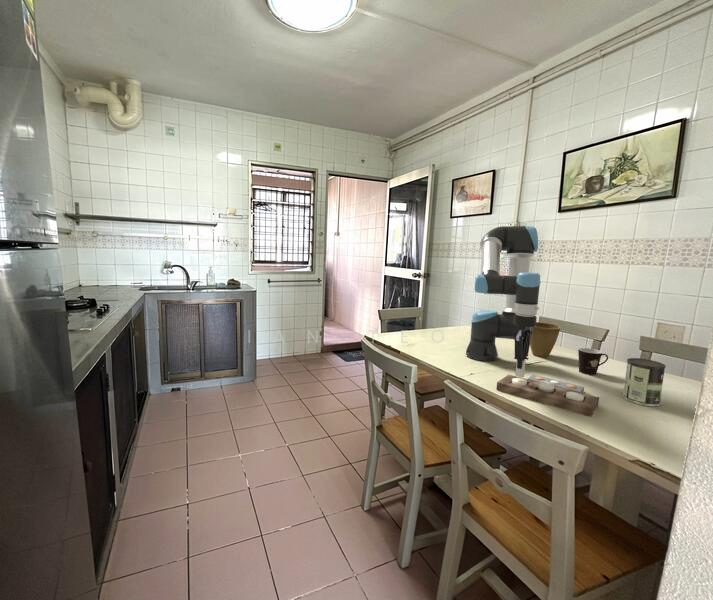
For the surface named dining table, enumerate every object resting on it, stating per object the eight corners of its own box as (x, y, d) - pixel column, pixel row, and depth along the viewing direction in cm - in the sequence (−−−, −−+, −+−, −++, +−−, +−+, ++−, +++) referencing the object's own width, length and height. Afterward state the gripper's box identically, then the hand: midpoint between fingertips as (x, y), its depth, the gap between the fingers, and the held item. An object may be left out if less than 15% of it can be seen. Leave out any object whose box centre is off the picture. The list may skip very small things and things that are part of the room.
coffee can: (656, 398, 121) (661, 361, 120) (663, 409, 113) (669, 369, 111) (620, 392, 127) (625, 356, 125) (624, 401, 118) (629, 363, 116)
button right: (564, 401, 114) (564, 394, 114) (567, 397, 118) (568, 390, 117) (581, 406, 111) (582, 399, 110) (584, 401, 114) (585, 394, 114)
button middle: (535, 389, 120) (536, 383, 120) (540, 386, 124) (540, 379, 123) (551, 393, 117) (552, 387, 116) (555, 389, 120) (555, 383, 120)
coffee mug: (577, 373, 146) (579, 351, 145) (574, 368, 154) (577, 346, 152) (609, 378, 141) (612, 355, 139) (605, 372, 148) (608, 350, 147)
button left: (509, 386, 126) (510, 380, 126) (514, 383, 130) (514, 376, 130) (523, 390, 123) (524, 383, 123) (528, 386, 127) (528, 380, 126)
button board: (496, 389, 127) (496, 382, 126) (508, 381, 135) (508, 374, 135) (591, 417, 106) (592, 408, 106) (598, 405, 115) (599, 397, 114)
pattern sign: (526, 383, 134) (527, 377, 133) (532, 379, 139) (532, 373, 138) (579, 397, 121) (580, 391, 121) (583, 391, 126) (584, 386, 126)
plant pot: (521, 355, 172) (524, 324, 170) (528, 349, 183) (531, 320, 181) (554, 361, 163) (557, 329, 160) (559, 355, 174) (563, 325, 172)
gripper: (530, 318, 116) (524, 383, 119) (541, 313, 125) (535, 374, 128) (508, 315, 121) (502, 377, 124) (520, 311, 130) (515, 369, 134)
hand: (519, 376), depth 126 cm, fingers closed
